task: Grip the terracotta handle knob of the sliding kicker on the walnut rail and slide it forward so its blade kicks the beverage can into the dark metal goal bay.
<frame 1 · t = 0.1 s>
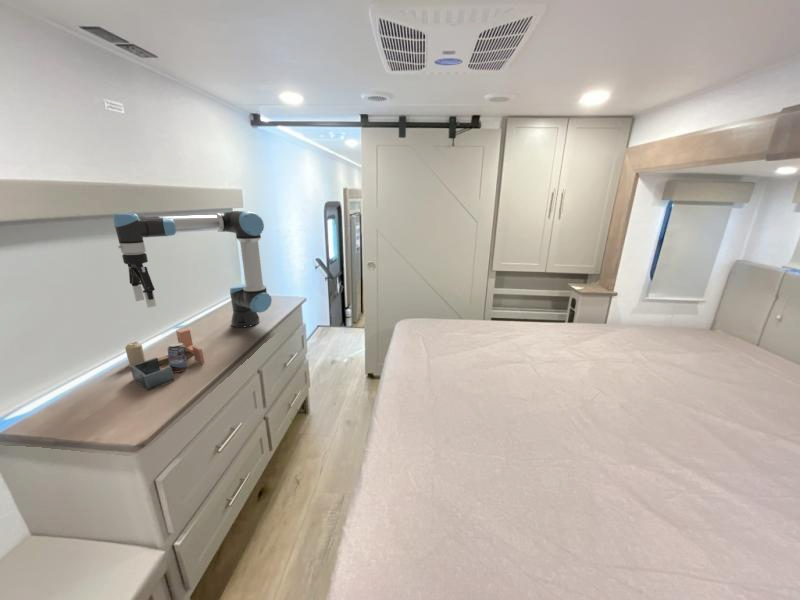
hand: (145, 303, 131), 28 cm above the dresser top, fingers open, 13 cm apart
candle: (138, 363, 138), on the dresser top
beverage can: (180, 370, 133), on the dresser top
rail: (173, 360, 141), on the dresser top
goal: (155, 379, 126), on the dresser top
kicker: (191, 346, 140), point 7 cm above the dresser top, slide at 0.0 cm
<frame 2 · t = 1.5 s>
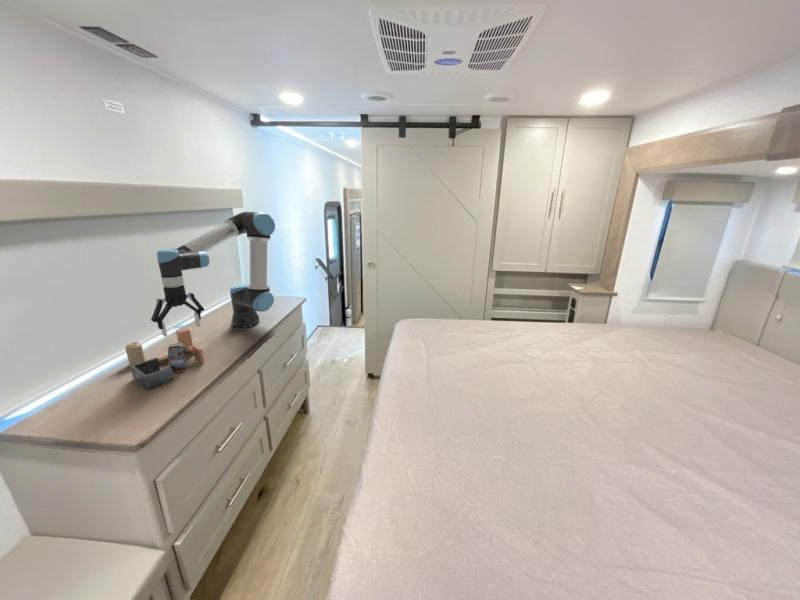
hand: (182, 330, 141), 13 cm above the dresser top, fingers open, 13 cm apart
nothing on the dresser top moved.
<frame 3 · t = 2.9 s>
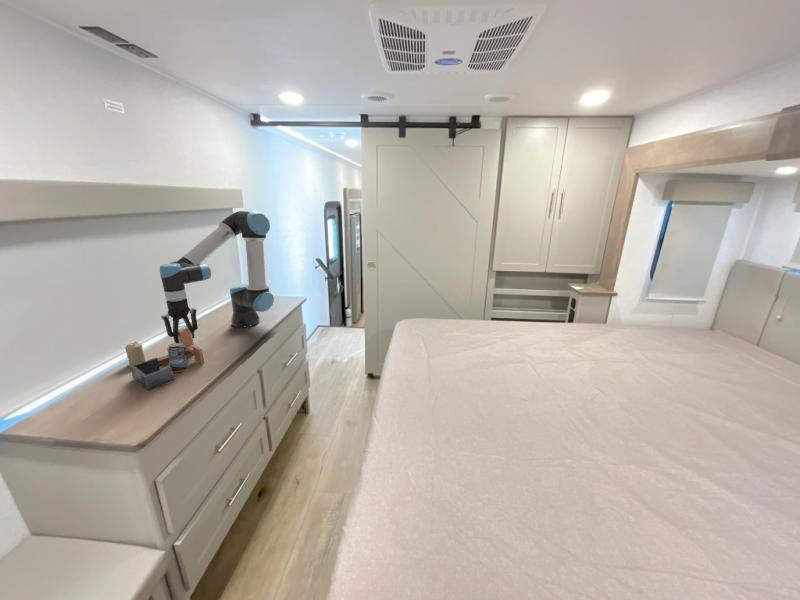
hand: (186, 346, 144), 5 cm above the dresser top, fingers closed on kicker, 4 cm apart
kicker: (191, 346, 140), point 7 cm above the dresser top, slide at 0.0 cm, touching gripper
everything else where it was.
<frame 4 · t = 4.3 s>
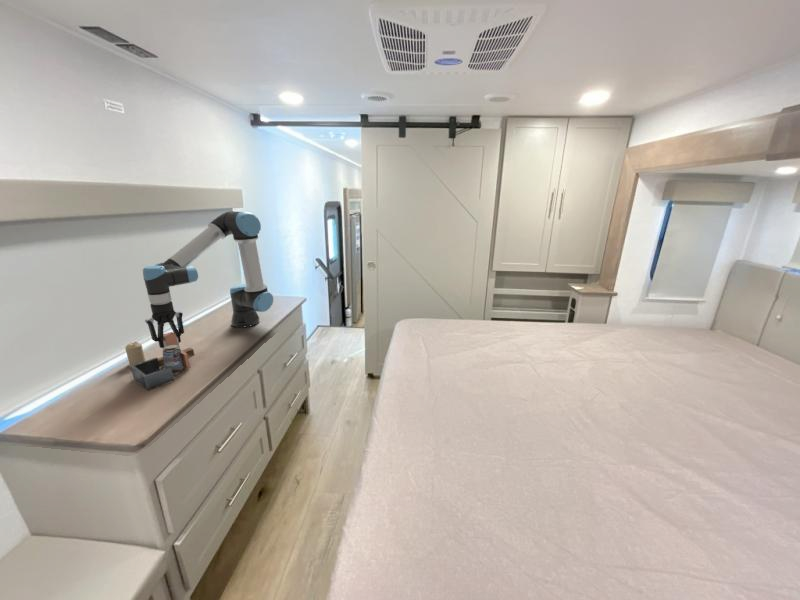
hand: (172, 351, 139), 5 cm above the dresser top, fingers closed on kicker, 4 cm apart
beverage can: (175, 372, 132), on the dresser top, touching kicker
kicker: (177, 350, 136), point 7 cm above the dresser top, slide at 5.8 cm, touching beverage can, gripper
everything else where it was.
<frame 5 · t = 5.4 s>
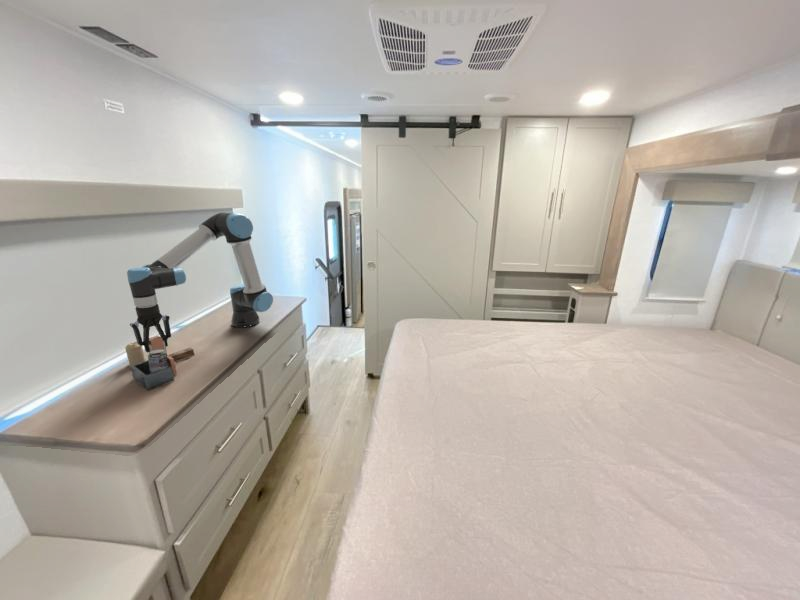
hand: (158, 355, 135), 5 cm above the dresser top, fingers closed on kicker, 4 cm apart
beverage can: (161, 378, 127), on the dresser top, touching kicker
kicker: (163, 355, 132), point 7 cm above the dresser top, slide at 10.9 cm, touching beverage can, gripper
everything else where it was.
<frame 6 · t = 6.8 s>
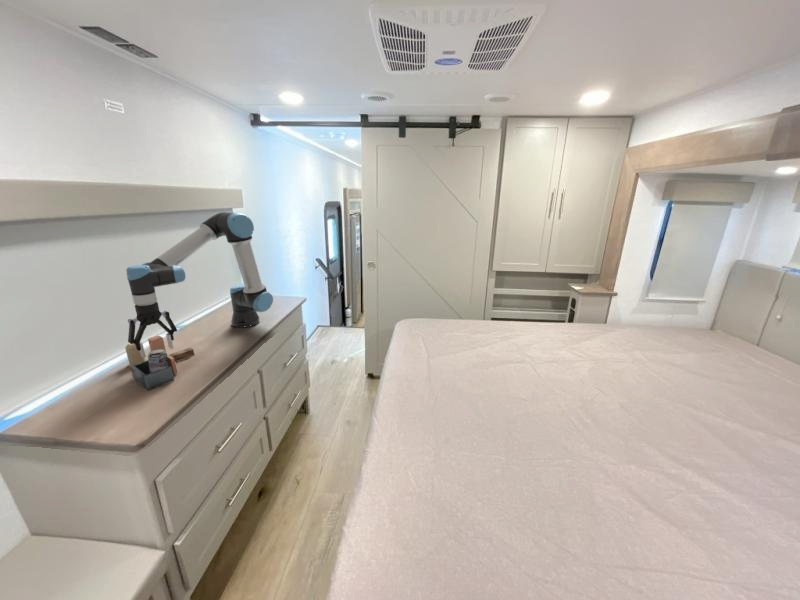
hand: (157, 351, 135), 7 cm above the dresser top, fingers open, 9 cm apart
beverage can: (161, 378, 127), on the dresser top
kicker: (164, 355, 132), point 7 cm above the dresser top, slide at 10.7 cm
everything else where it was.
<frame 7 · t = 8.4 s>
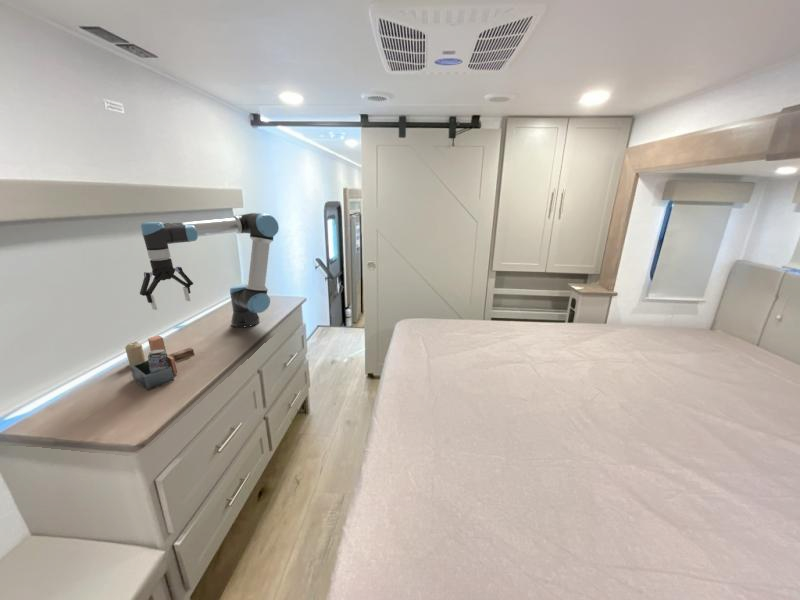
hand: (172, 304, 141), 24 cm above the dresser top, fingers open, 13 cm apart
nothing on the dresser top moved.
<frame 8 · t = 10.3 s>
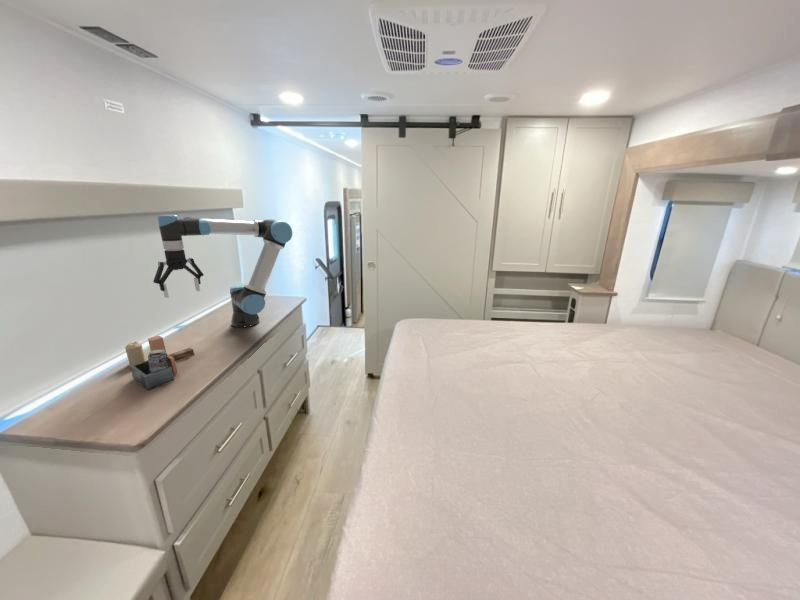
hand: (182, 293, 149), 27 cm above the dresser top, fingers open, 13 cm apart
nothing on the dresser top moved.
at the end: beverage can inside the target area (2.5 cm from its centre), on the dresser top; beverage can tilted 0° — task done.
